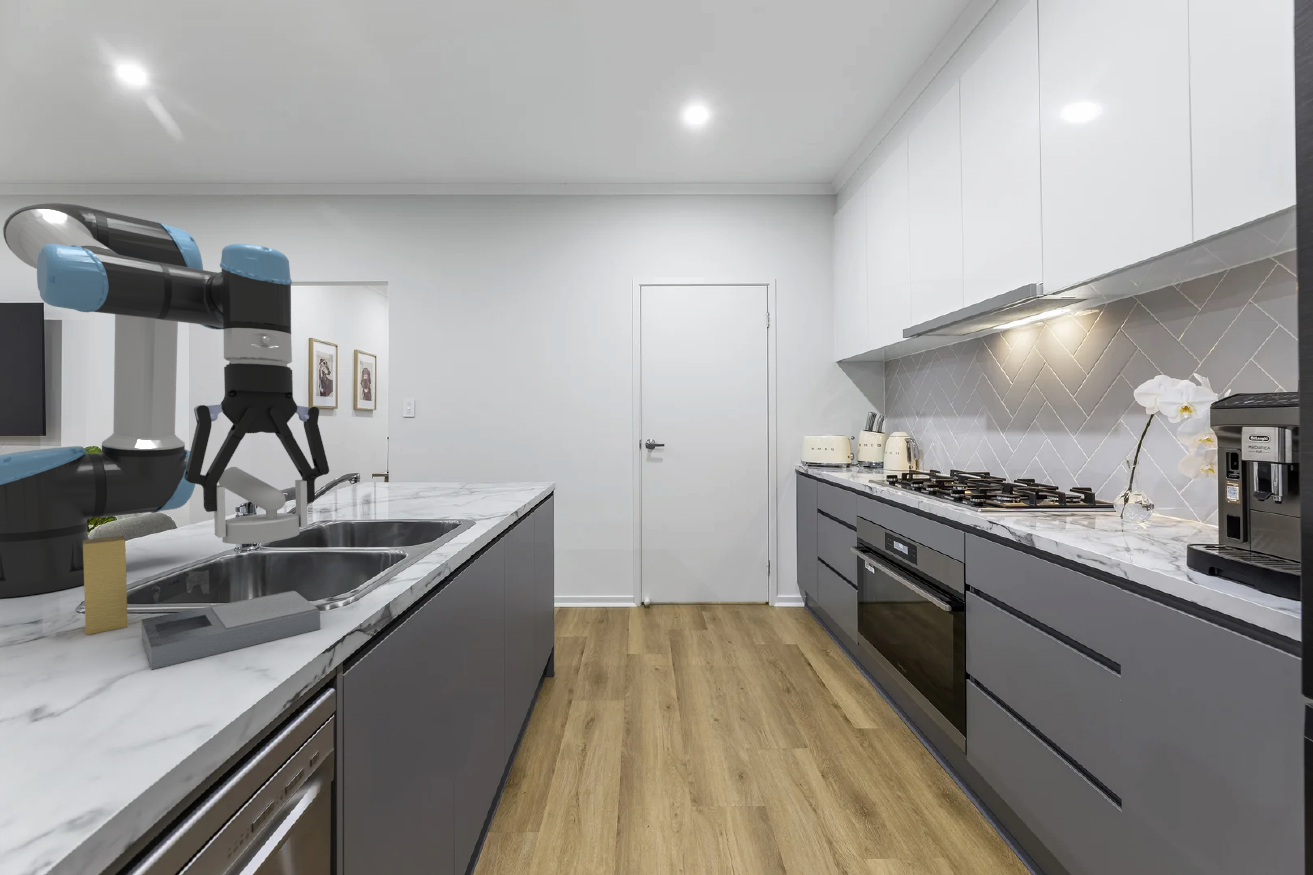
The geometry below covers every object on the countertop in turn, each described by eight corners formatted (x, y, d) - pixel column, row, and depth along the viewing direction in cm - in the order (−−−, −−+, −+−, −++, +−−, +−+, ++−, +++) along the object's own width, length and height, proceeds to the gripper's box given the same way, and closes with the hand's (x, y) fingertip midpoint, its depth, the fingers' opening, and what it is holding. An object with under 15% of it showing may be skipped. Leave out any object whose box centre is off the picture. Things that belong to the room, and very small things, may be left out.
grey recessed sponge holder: (141, 638, 72) (141, 618, 72) (293, 606, 85) (293, 589, 85) (151, 669, 63) (151, 646, 63) (320, 629, 76) (319, 610, 76)
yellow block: (85, 627, 76) (82, 540, 76) (125, 619, 79) (123, 535, 79) (85, 634, 74) (83, 544, 73) (127, 626, 76) (125, 539, 76)
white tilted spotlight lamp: (253, 464, 81) (312, 465, 80) (255, 529, 82) (314, 531, 80) (194, 469, 73) (258, 470, 71) (196, 542, 73) (260, 545, 71)
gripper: (156, 355, 65) (161, 548, 66) (354, 367, 81) (356, 523, 81) (150, 360, 70) (155, 538, 71) (337, 371, 86) (339, 517, 86)
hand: (262, 530), depth 76 cm, fingers closed on white tilted spotlight lamp, 8 cm apart
